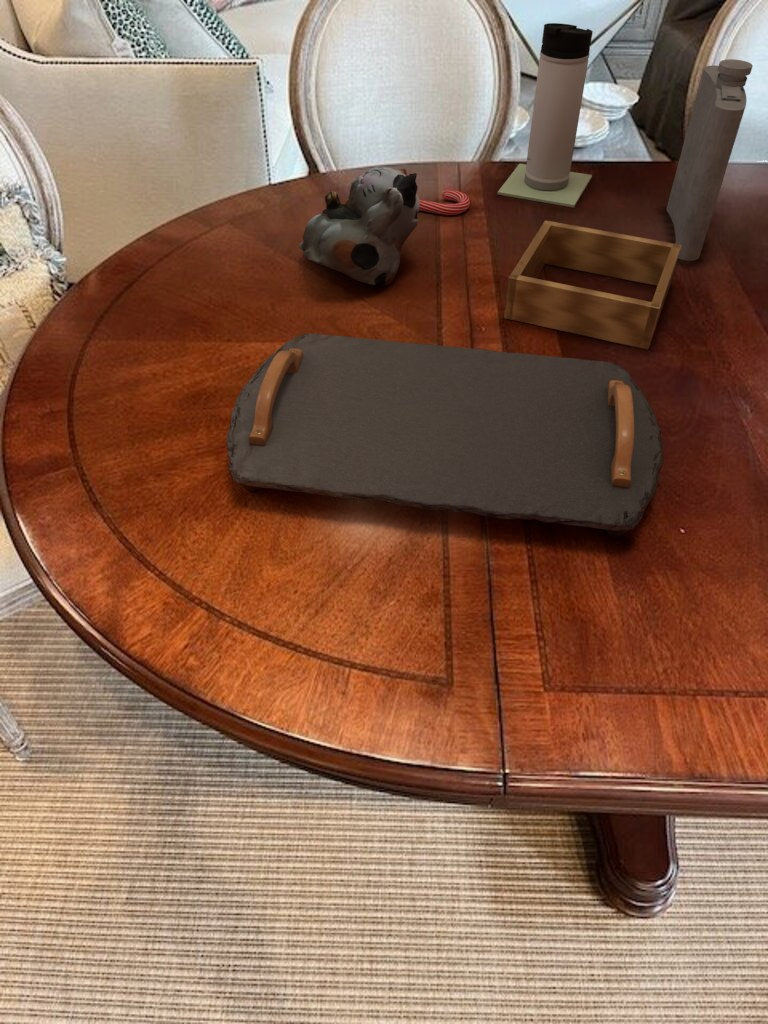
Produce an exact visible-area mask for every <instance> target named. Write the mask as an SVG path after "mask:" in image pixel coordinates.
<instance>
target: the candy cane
mask: <svg viewBox="0 0 768 1024" xmlns="http://www.w3.org/2000/svg"><path fill="white" fill-rule="evenodd" d="M441 195H442V198H443V200H445V201H451V202H456V203H449V204H448V203H441V202H435V201H431V200H424V199H420V203H419V204H420V209H419V211H420V212H426V213H431V214H432V213H433V214H437V215H440V216H441V215H442V216H456V215H460V214H463V213H464V212H466V211H468V209H469V208H470V206H471V200H470V197H469V196H468V195H467V194H466V193H464V192H462V191H459V190H454V189H445V190H443V192H442V194H441ZM419 211H418V212H419Z"/></svg>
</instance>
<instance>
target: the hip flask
mask: <svg viewBox="0 0 768 1024" xmlns="http://www.w3.org/2000/svg"><path fill="white" fill-rule="evenodd" d="M753 67H754V65H753V64H752V63H751V62H749V61H746V60H741V59H733V58H731V59H723V60H720V61H719V63H718V65H712V64H711V65H706V66H704V67H703V69H702V73H701V77H700V79H699V84H698V88H697V92H696V96H695V99H694V104H693V107H692V110H691V114H690V117H689V118H690V119H689V122H688V126H687V130H686V133H685V137H684V140H683V145H682V148H681V152H680V156H679V160H678V164H677V168H676V172H675V175H674V179H673V183H672V186H671V189H670V194H669V198H668V202H667V205H666V212H667V213H668V215H669V217H670V220H671V222H672V225H673V228H674V235H675V243H674V244H679V245H682V246H681V250H680V253H679V257H678V260H681V261H685V262H694V261H697V260H699V258H700V256H701V252H702V250H703V247H704V243H705V240H706V237H707V233H708V230H709V227H710V223H711V221H712V218H713V214H714V210H715V208H716V204H717V200H718V197H719V194H720V191H721V188H722V184H723V181H724V178H725V175H726V172H727V168H728V165H729V162H730V158H731V155H732V153H733V149H734V145H735V142H736V140H737V139H736V138H737V135H738V133H739V129H740V126H741V122H742V120H743V117H744V114H745V109H746V106H747V94H746V90H745V86H746V84H747V80H748V77H747V76H749V75H751V74H752V73H751V72H752V70H753Z"/></svg>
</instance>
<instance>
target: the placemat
mask: <svg viewBox="0 0 768 1024" xmlns="http://www.w3.org/2000/svg"><path fill="white" fill-rule="evenodd" d="M525 171H526V164H525V163H519V164H517V166H516V167H515V168H514V170H513V171H512V172H511V174H510V175H509V176H508V178H507V179H506V180H505V182H504V183H503V184H502V186H501V187H500V188H499V189H498V191H497V194H496V195H497V196H504V197H510V198H516V199H520V200H521V199H522V200H525V201H526V200H527V201H533V202H538V203H545V204H549V205H556V206H561V207H568V208H575V207H576V205H577V203H578V202H579V200H580V198H581V196H582V195H583V193H584V192H585V190H586V188H587V187H588V185H589V183H590V181H591V180H592V178H593V175H592V174H588V173H580V172H575V171H570V175H569V181H568V184H567V186H565V187H564V188H562V189H559V190H553V191H544V190H538V189H535V188H532V187H530V186H529V185H527V184H526V183H525V180H524V179H525Z"/></svg>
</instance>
